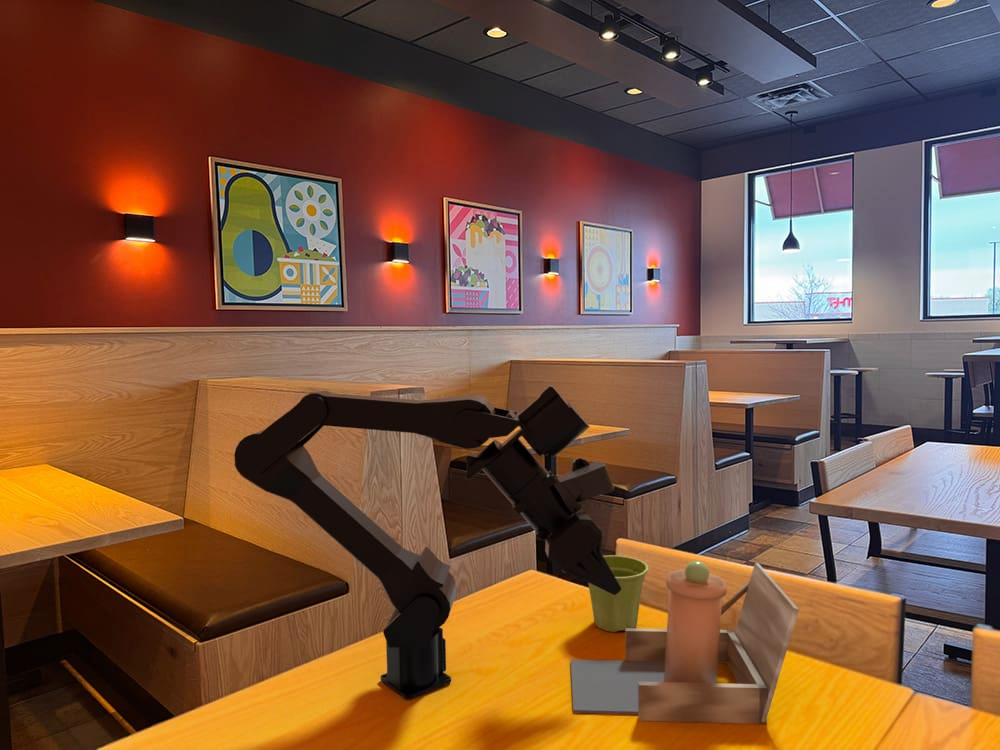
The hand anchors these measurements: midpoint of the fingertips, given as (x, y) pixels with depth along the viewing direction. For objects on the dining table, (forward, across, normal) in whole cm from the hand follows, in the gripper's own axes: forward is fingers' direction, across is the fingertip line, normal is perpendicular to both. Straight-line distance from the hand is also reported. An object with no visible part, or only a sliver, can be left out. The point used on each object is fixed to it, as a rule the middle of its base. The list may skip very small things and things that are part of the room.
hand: (610, 580), depth 84 cm
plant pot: (+12, +18, +4) cm, 22 cm away
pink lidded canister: (+16, 0, +1) cm, 16 cm away
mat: (+11, 0, +7) cm, 13 cm away
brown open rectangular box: (+17, 0, 0) cm, 17 cm away
